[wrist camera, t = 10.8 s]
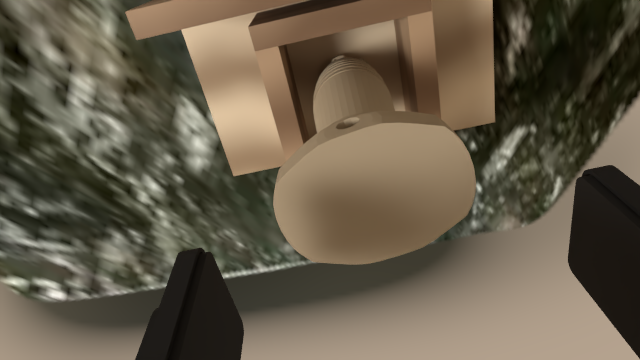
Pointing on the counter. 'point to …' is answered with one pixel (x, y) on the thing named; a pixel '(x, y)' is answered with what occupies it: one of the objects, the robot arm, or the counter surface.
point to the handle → (370, 174)
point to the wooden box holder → (325, 62)
